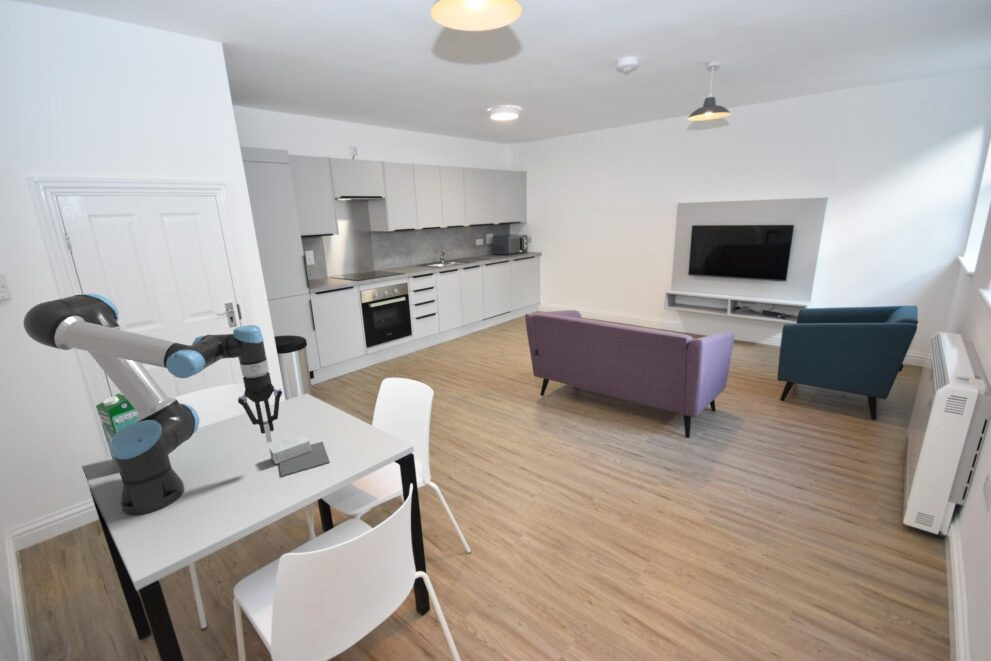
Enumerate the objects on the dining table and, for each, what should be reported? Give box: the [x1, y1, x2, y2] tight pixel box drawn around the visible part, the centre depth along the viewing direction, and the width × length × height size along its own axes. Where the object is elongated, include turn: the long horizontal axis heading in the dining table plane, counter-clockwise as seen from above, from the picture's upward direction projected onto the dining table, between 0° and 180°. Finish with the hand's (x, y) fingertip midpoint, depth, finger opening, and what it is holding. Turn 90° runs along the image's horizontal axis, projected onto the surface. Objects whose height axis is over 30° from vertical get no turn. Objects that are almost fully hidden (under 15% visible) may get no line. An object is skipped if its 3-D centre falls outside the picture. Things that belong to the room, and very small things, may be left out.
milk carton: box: [95, 391, 138, 467], centre depth 150 cm, size 9×9×25 cm
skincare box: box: [268, 435, 311, 465], centre depth 152 cm, size 6×4×12 cm
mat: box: [278, 441, 331, 478], centre depth 150 cm, size 15×16×1 cm
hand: (269, 440), depth 144 cm, fingers closed
